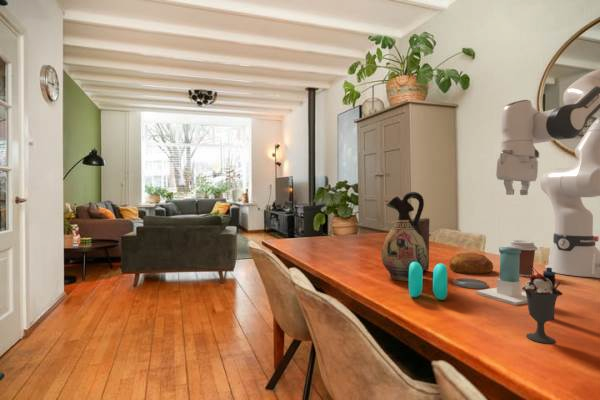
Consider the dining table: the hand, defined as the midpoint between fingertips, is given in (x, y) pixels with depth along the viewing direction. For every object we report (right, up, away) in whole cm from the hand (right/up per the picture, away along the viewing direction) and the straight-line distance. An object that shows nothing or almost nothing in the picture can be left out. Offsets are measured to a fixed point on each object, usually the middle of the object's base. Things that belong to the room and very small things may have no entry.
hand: (517, 195), depth 114 cm
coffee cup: (+11, -29, +16) cm, 35 cm away
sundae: (-20, -30, -41) cm, 55 cm away
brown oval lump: (-4, -29, +23) cm, 37 cm away
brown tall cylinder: (-25, -29, +21) cm, 43 cm away
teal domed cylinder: (-9, -25, -12) cm, 29 cm away
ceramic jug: (-32, -29, +10) cm, 45 cm away
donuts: (-33, -30, -13) cm, 46 cm away
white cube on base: (-9, -29, -12) cm, 33 cm away
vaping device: (-11, -30, -28) cm, 42 cm away
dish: (-14, -29, +2) cm, 32 cm away
